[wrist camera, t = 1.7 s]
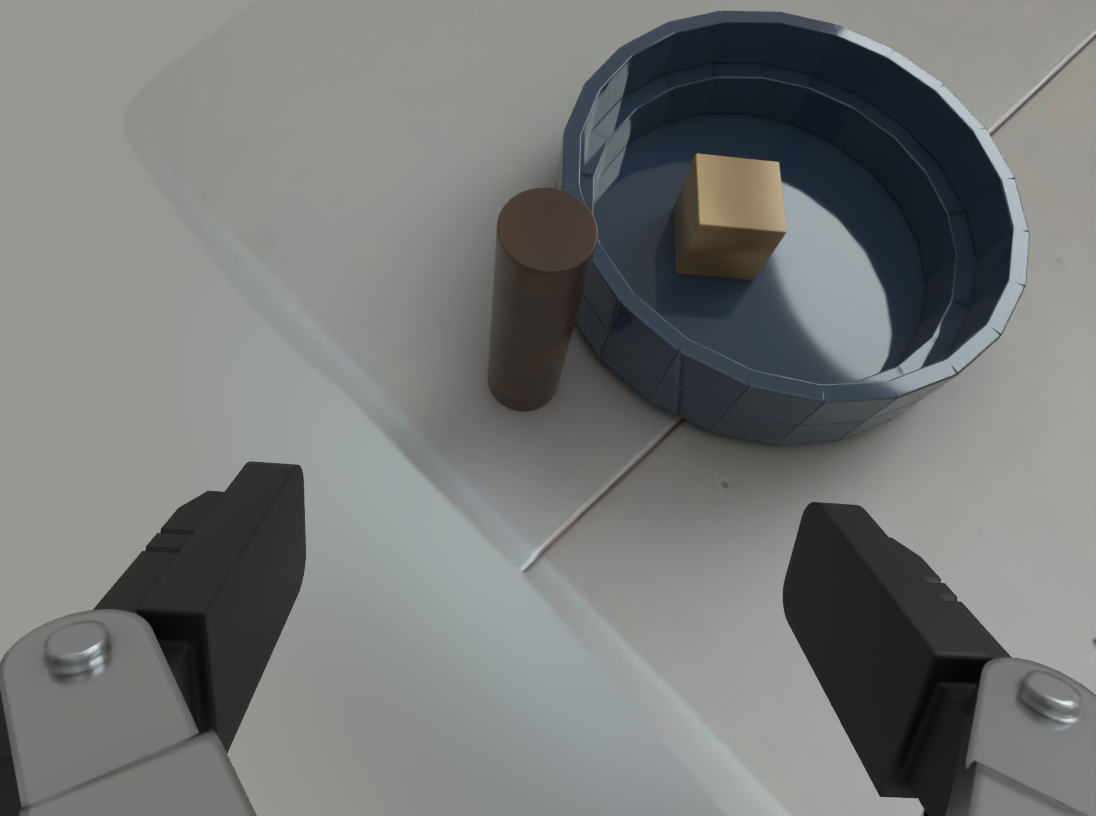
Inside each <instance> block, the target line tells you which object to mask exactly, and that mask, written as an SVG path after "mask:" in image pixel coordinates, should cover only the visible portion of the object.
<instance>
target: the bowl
mask: <svg viewBox="0 0 1096 816" xmlns="http://www.w3.org/2000/svg"><path fill="white" fill-rule="evenodd" d="M697 153H698V154H707V155H717V156H726V157H736V158H745V159H755V160H764V161H774V162H779V166H780V176H781V185H782V195H783V204H784V214H785V223H786V234H785V235H784V237H783V238H782V240H781V241H780V243H779V244H778V246H777V247H776V249H775V250H774V252H773V253H772V255H771V256H770V258H769V259H768V261H767V262H766V264H765V265H764V267H763V268H762V270H761V271H760V272H759V274H758V275H757V277H756V278H755V280H743V279H732V278H721V277H710V276H699V275H688V274H677V273H676V268H675V239H674V210H673V208H674V205H675V203H676V200H677V198H678V196H679V193H680V191H681V188H682V186H683V183H684V181H685V179H686V176H687V174H688V171H689V169H690V166H691V164H692V162H693V159H694V157H695V154H697ZM555 189H557V190H561V191H564V192H567V193H569V194H571V195H573V196H575V197H576V198H578V199H579V200H581V201H582V202H583V203H584V204H585V205H586V206H587V207H588V208H589V210H590V211H591V212H592V214H593V216H594V218H595V221H596V223H597V228H598V240H597V244H596V248H595V251H594V255H593V259H592V262H591V266H590V269H589V273H588V277H587V280H586V284H585V287H584V291H583V295H582V298H581V302H580V305H579V309H578V313H577V316H576V320H575V322H576V323H577V325H578V326H579V328H580V329H581V331H582V332H583V334H584V335H585V337H586V339H587V340H588V342H589V343H590V345H591V346H592V348H593V349H594V351H595V352H596V354H597V355H598V357H600V358H601V359H602V360H603V361H604V362H605V363H606V364H607V365H608V366H610V367H611V368H612V369H613V370H614V371H615V372H616V373H617V374H619V375H620V376H621V377H622V378H623V379H624V380H625V381H627V382H628V383H629V384H630V385H631V386H632V387H633V388H635V389H636V390H637V391H638V392H639V393H640V394H641V395H643V396H644V397H645V398H646V399H648V400H649V401H650V402H652V403H654V404H656V405H658V406H660V407H662V408H664V409H666V410H668V411H670V412H672V413H674V414H676V415H678V416H680V417H682V418H684V419H686V420H688V421H690V422H692V423H694V424H696V425H698V426H700V427H702V428H704V429H706V430H710V432H715V433H719V434H724V435H729V436H734V437H738V438H743V439H748V440H753V441H757V442H762V443H767V444H772V445H774V444H775V445H782V444H796V443H811V442H826V441H837V440H841V439H844V438H846V437H849V436H851V435H854V434H856V433H859V432H862V431H864V430H867V429H869V428H872V427H874V426H877V425H879V424H882V423H884V422H887V421H889V420H891V419H893V418H894V417H896V416H897V415H899V414H900V413H902V412H903V411H905V410H906V409H908V408H909V407H911V406H912V405H914V404H915V403H917V402H918V401H920V400H921V399H923V398H924V397H926V396H927V395H929V394H930V393H932V392H933V391H935V390H936V389H938V388H939V387H941V386H942V385H944V384H945V383H947V382H948V381H950V380H951V379H953V378H954V377H956V376H957V375H958V374H960V373H961V372H962V371H963V370H964V369H965V368H966V367H967V366H969V365H970V364H971V363H972V362H973V361H974V360H975V359H976V358H978V357H979V356H980V355H981V354H982V353H983V352H984V351H985V350H987V349H988V348H989V347H990V346H991V345H992V344H993V343H994V342H996V341H997V340H998V339H999V338H1000V336H1001V335H1002V333H1003V331H1004V329H1005V327H1006V325H1007V323H1008V321H1009V319H1010V317H1011V315H1012V313H1013V311H1014V309H1015V307H1016V305H1017V303H1018V301H1019V299H1020V296H1021V294H1022V292H1023V290H1024V288H1025V286H1026V274H1027V261H1028V247H1029V230H1028V226H1027V223H1026V219H1025V215H1024V211H1023V207H1022V204H1021V200H1020V196H1019V192H1018V188H1017V184H1016V181H1015V177H1014V175H1013V173H1012V172H1011V170H1010V168H1009V167H1008V165H1007V163H1006V162H1005V160H1004V158H1003V156H1002V155H1001V153H1000V151H999V150H998V148H997V146H996V144H995V143H994V141H993V139H992V138H991V136H990V134H989V133H988V131H987V129H986V128H985V127H984V126H983V125H982V124H981V123H980V122H979V121H978V120H977V119H976V118H975V116H974V115H973V114H972V113H971V112H970V111H969V110H968V109H967V108H966V107H965V106H964V105H963V104H962V103H961V102H960V101H959V100H958V99H957V98H956V97H955V95H954V94H953V93H952V92H951V91H950V90H949V89H948V88H947V87H946V86H945V85H943V83H942V82H940V81H939V80H937V79H936V78H934V77H933V76H931V75H930V74H929V73H927V72H926V71H924V70H923V69H921V68H920V67H918V66H917V65H916V64H914V63H913V62H911V61H910V60H908V59H907V58H905V57H904V56H903V55H901V54H900V53H898V52H897V51H895V50H893V49H892V48H890V47H887V46H885V45H883V44H881V43H878V42H876V41H874V40H871V39H869V38H867V37H865V36H862V35H860V34H858V33H855V32H853V31H851V30H849V29H846V28H844V27H842V26H839V25H836V24H832V23H828V22H823V21H819V20H814V19H810V18H805V17H801V16H796V15H792V14H788V13H783V12H779V13H778V12H762V11H717V12H712V13H707V14H703V15H698V16H694V17H689V18H684V19H680V20H675V21H671V22H667V23H665V24H663V25H661V26H659V27H657V28H655V29H654V30H652V31H650V32H648V33H646V34H644V35H642V36H640V37H638V38H636V39H635V40H633V41H631V42H629V43H627V44H625V45H623V46H622V47H620V48H619V49H618V50H617V51H616V52H615V53H614V54H613V55H612V56H611V57H610V58H609V59H608V60H607V61H606V62H605V63H604V64H603V65H602V66H601V67H600V68H599V69H598V70H597V71H596V72H595V74H594V75H593V76H592V77H591V78H590V79H589V80H588V81H587V82H586V83H585V84H584V86H583V88H582V91H581V93H580V95H579V97H578V100H577V102H576V104H575V107H574V109H573V111H572V114H571V116H570V118H569V121H568V123H567V125H566V128H565V130H564V135H563V141H562V147H561V153H560V159H559V165H558V171H557V177H556V183H555Z"/></svg>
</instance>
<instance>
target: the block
mask: <svg viewBox="0 0 1096 816" xmlns="http://www.w3.org/2000/svg"><path fill="white" fill-rule="evenodd" d="M673 210H674V239H675V268H676V273H677V274H688V275H699V276H710V277H721V278H732V279H743V280H755V278H756V277H757V275H758V274H759V272H760V271H761V270H762V268H763V267H764V265H765V264H766V262H767V261H768V259H769V258H770V256H771V255H772V253H773V252H774V250H775V249H776V247H777V246H778V244H779V243H780V241H781V240H782V238H783V237H784V235H785V234H786V223H785V214H784V204H783V195H782V185H781V176H780V166H779V162H774V161H764V160H755V159H745V158H736V157H726V156H717V155H707V154H698V153H697V154H695V157H694V159H693V162H692V164H691V166H690V169H689V171H688V174H687V176H686V179H685V181H684V183H683V186H682V188H681V191H680V193H679V196H678V198H677V200H676V203H675V205H674V208H673Z"/></svg>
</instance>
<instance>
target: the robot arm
mask: <svg viewBox="0 0 1096 816" xmlns="http://www.w3.org/2000/svg"><path fill="white" fill-rule="evenodd" d="M305 541H306V539H305V509H304V480H303V472H302V469H301V467H300V465H294V464H280V463H265V462H248V463H246V464H245V466H244V467H243V468H242V470H241V471H240V472H239V474H238V475H237V476H236V478H235V479H234V480H233V482H232V483H231V484H230V486H229V487H228V488H227V489H226V491H225V492H218V491H207V492H205V493H204V494H202V495H200V496H198V497H197V498H195V499H193V500H191V501H190V502H188V503H186V504H184V505H183V506H181V507H179V508H178V509H177V510H176V512H175V513H174V514H173V515H172V516H171V518H170V519H169V520H168V521H167V522H166V523H165V525H164V526H163V527H162V528H161V532H160V533H157V534H156V536H155V537H154V538H153V539H152V540H151V541H150V543H149V544H148V545H147V546H146V551H142V552H141V553H140V555H139V556H138V557H137V558H136V559H135V560H134V562H133V563H132V564H131V565H130V566H129V568H128V569H127V570H126V571H125V572H124V574H123V575H122V576H121V577H120V578H119V579H118V581H117V582H116V583H115V584H114V586H113V587H112V588H111V589H110V590H109V591H108V593H107V594H106V595H105V596H104V597H103V598H102V600H101V601H100V602H99V603H98V604H97V606H96V607H95V608H94V609H93V610H89V611H84V612H79V613H74V614H70V615H67V616H64V617H61V618H58V619H55V620H53V621H50V622H48V623H46V624H44V625H42V626H40V627H38V628H36V629H34V630H32V631H31V632H29V633H28V634H27V635H25V636H24V637H22V638H21V639H20V640H19V641H17V642H16V643H15V644H14V645H13V646H12V647H11V648H10V649H9V650H8V651H7V652H6V654H5V655H4V657H3V659H2V660H1V662H0V816H257V815H256V813H255V811H254V809H253V807H252V805H251V803H250V801H249V799H248V797H247V795H246V792H245V790H244V788H243V786H242V784H241V782H240V780H239V778H238V776H237V774H236V772H235V770H234V767H233V766H232V763H231V762H230V759H229V757H228V755H227V753H228V751H229V748H230V746H231V744H232V741H233V739H234V737H235V735H236V733H237V730H238V728H239V726H240V723H241V721H242V719H243V717H244V714H245V712H246V710H247V708H248V706H249V703H250V701H251V699H252V697H253V694H254V692H255V690H256V687H257V685H258V683H259V681H260V679H261V677H262V674H263V672H264V670H265V668H266V665H267V663H268V661H269V659H270V656H271V654H272V652H273V650H274V647H275V645H276V643H277V641H278V638H279V636H280V634H281V632H282V629H283V627H284V625H285V623H286V620H287V618H288V616H289V614H290V611H291V609H292V607H293V604H294V602H295V600H296V598H297V596H298V593H299V591H300V588H301V584H302V580H303V575H304V569H305V560H306V542H305ZM783 606H784V612H785V616H786V619H787V621H788V624H789V625H790V627H791V629H792V631H793V633H794V635H795V637H796V639H797V641H798V643H799V644H800V646H801V648H802V650H803V652H804V654H805V656H806V658H807V660H808V661H809V663H810V665H811V667H812V669H813V671H814V673H815V675H816V677H817V678H818V680H819V682H820V684H821V686H822V688H823V690H824V692H825V694H826V695H827V697H828V699H829V701H830V703H831V705H832V707H833V709H834V711H835V712H836V714H837V716H838V718H839V720H840V722H841V724H842V726H843V728H844V729H845V731H846V733H847V735H848V737H849V739H850V741H851V743H852V745H853V746H854V748H855V750H856V752H857V754H858V756H859V758H860V760H861V762H862V764H863V765H864V767H865V769H866V771H867V773H868V775H869V777H870V779H871V781H872V782H873V784H874V786H875V788H876V790H877V792H878V794H879V796H880V797H901V798H918V799H919V801H920V803H921V804H922V806H923V808H924V809H923V811H922V814H921V816H1096V695H1095V694H1094V693H1093V692H1091V691H1090V690H1089V689H1087V688H1086V687H1085V686H1083V685H1082V684H1080V683H1079V682H1077V681H1075V680H1074V679H1072V678H1070V677H1069V676H1067V675H1065V674H1063V673H1061V672H1059V671H1057V670H1055V669H1052V668H1050V667H1048V666H1045V665H1042V664H1039V663H1036V662H1033V661H1029V660H1025V659H1019V658H1012V657H1011V656H1010V655H1009V654H1008V653H1007V652H1006V651H1005V650H1004V649H1003V647H1002V646H1001V645H1000V644H999V643H998V642H997V641H996V640H995V639H994V637H993V636H992V635H991V634H990V633H989V632H988V631H987V630H986V629H985V628H984V626H983V625H982V624H981V623H980V622H979V621H978V620H977V619H976V618H975V616H974V615H973V614H972V613H971V612H970V611H969V610H968V609H967V608H966V606H965V605H964V604H963V603H962V602H957V596H956V595H955V594H954V593H953V592H952V591H951V590H950V589H949V588H948V586H947V585H946V584H945V583H941V579H940V578H939V576H938V575H937V574H936V573H935V572H934V571H933V570H932V569H931V568H930V566H929V565H928V564H927V563H926V562H925V561H924V560H923V559H922V558H921V557H920V556H919V555H917V554H916V553H914V552H913V551H911V550H910V549H908V548H907V547H905V546H904V545H902V544H901V543H899V542H898V541H896V540H895V539H893V538H889V537H888V536H887V535H886V534H885V532H884V531H883V530H882V529H881V528H880V527H879V526H878V524H877V523H876V522H875V521H874V520H873V519H872V517H871V516H870V515H869V514H868V513H867V512H866V511H865V509H864V508H862V507H861V506H859V505H848V504H834V503H820V502H812V503H810V504H809V505H808V506H807V507H806V509H805V510H804V513H803V515H802V519H801V522H800V526H799V530H798V533H797V537H796V541H795V544H794V548H793V552H792V555H791V559H790V563H789V566H788V570H787V574H786V577H785V581H784V587H783Z"/></svg>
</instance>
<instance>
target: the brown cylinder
mask: <svg viewBox="0 0 1096 816" xmlns="http://www.w3.org/2000/svg"><path fill="white" fill-rule="evenodd" d="M597 240H598V228H597V223H596V221H595V218H594V216H593V214H592V212H591V211H590V210H589V208H588V207H587V206H586V205H585V204H584V203H583V202H582V201H581V200H579V199H578V198H576V197H575V196H573V195H571V194H569V193H567V192H564V191H561V190H557V189H552V188H536V189H531V190H527V191H524V192H522V193H520V194H518V195H516V196H515V197H513V198H512V199H511V200H510V201H509V202H508V203H507V204H506V205H505V206H504V207H503V209H502V211H501V213H500V215H499V218H498V222H497V235H496V252H495V269H494V286H493V302H492V319H491V336H490V353H489V370H488V383H489V387H490V390H491V392H492V394H493V395H494V397H495V398H496V399H497V400H498V401H499V402H500V403H501V404H503V405H504V406H506V407H508V408H510V409H513V410H518V411H530V410H535V409H537V408H540V407H542V406H543V405H545V404H546V403H547V402H548V401H549V400H550V399H551V398H552V397H553V395H554V393H555V391H556V388H557V384H558V381H559V377H560V374H561V370H562V366H563V363H564V359H565V356H566V352H567V349H568V345H569V341H570V338H571V334H572V331H573V327H574V323H575V320H576V316H577V313H578V309H579V305H580V302H581V298H582V295H583V291H584V287H585V284H586V280H587V277H588V273H589V269H590V266H591V262H592V259H593V255H594V251H595V248H596V244H597Z"/></svg>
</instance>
